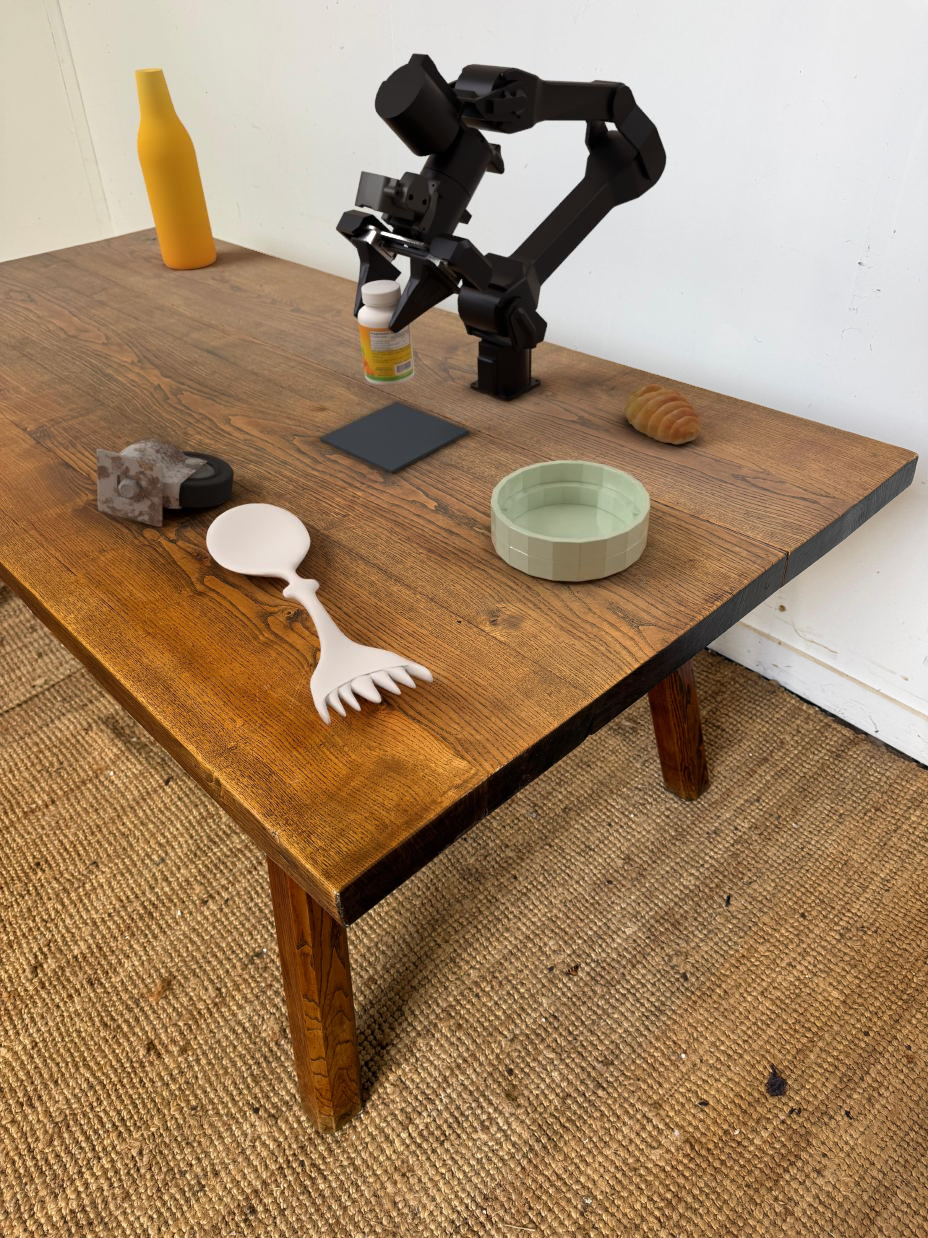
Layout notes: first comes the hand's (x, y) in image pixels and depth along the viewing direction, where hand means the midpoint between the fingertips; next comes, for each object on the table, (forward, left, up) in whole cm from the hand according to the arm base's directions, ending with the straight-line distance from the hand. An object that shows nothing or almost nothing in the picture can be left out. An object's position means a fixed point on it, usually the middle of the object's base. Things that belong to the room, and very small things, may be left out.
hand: (374, 324), depth 91 cm
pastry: (-22, +22, -13) cm, 34 cm away
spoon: (+26, +18, -13) cm, 34 cm away
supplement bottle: (-1, 0, -6) cm, 7 cm away
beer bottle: (-24, -77, -13) cm, 82 cm away
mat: (-1, 0, -13) cm, 13 cm away
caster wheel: (+23, -7, -13) cm, 27 cm away
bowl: (+3, +28, -13) cm, 31 cm away
